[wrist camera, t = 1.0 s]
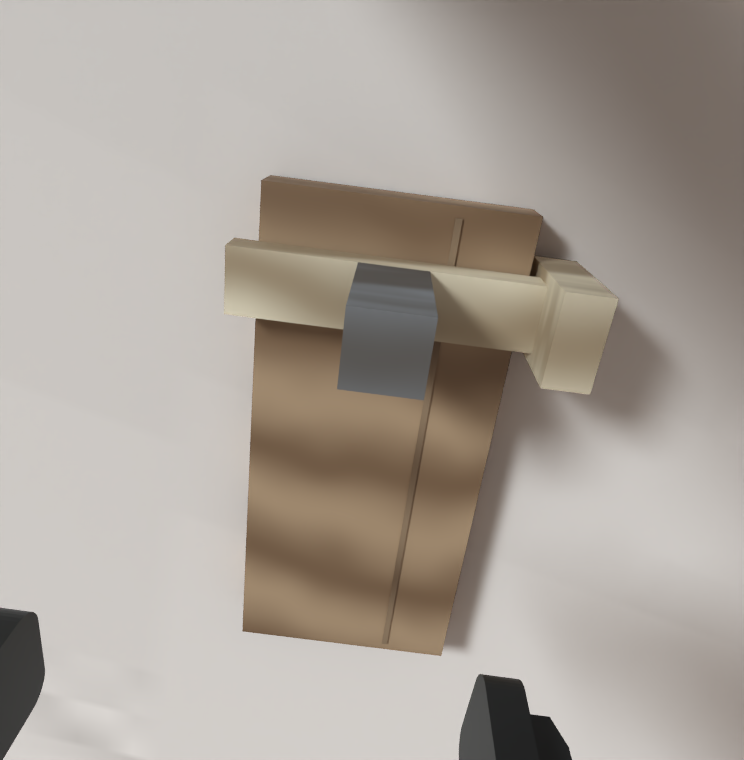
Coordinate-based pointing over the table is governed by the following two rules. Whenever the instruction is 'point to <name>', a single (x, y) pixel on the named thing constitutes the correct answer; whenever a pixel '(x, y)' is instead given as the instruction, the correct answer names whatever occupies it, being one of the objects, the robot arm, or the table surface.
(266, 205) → the board
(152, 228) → the table surface
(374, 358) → the cream flanged bar
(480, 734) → the robot arm
